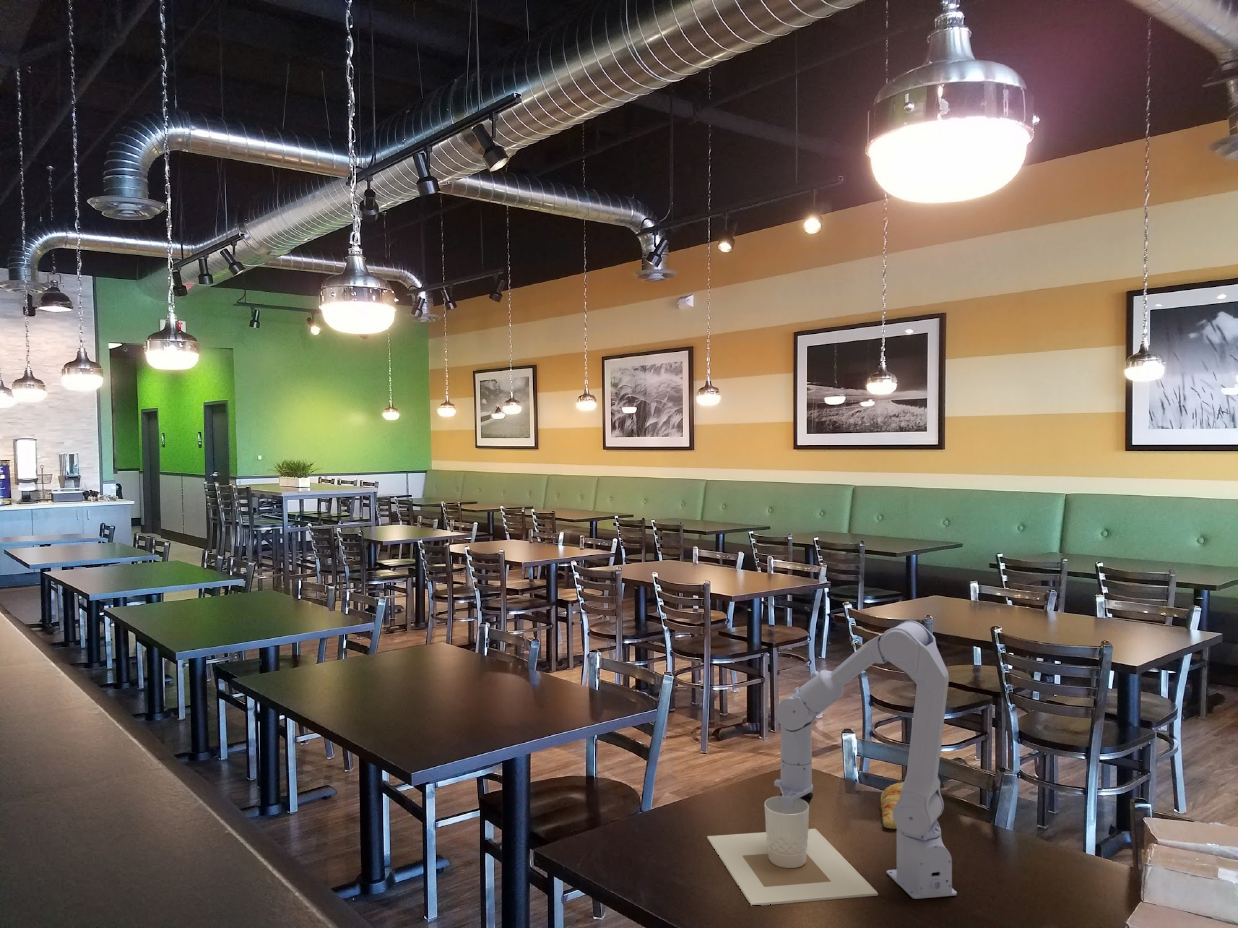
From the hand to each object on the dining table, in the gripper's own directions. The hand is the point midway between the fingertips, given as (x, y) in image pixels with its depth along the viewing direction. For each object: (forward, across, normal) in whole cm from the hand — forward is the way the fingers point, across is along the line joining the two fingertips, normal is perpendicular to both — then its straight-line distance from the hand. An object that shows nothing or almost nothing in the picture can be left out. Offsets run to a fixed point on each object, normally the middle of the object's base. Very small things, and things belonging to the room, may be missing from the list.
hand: (796, 833), depth 158 cm
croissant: (+3, -26, +17) cm, 31 cm away
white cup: (+3, +6, 0) cm, 6 cm away
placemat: (+3, +7, 0) cm, 7 cm away
